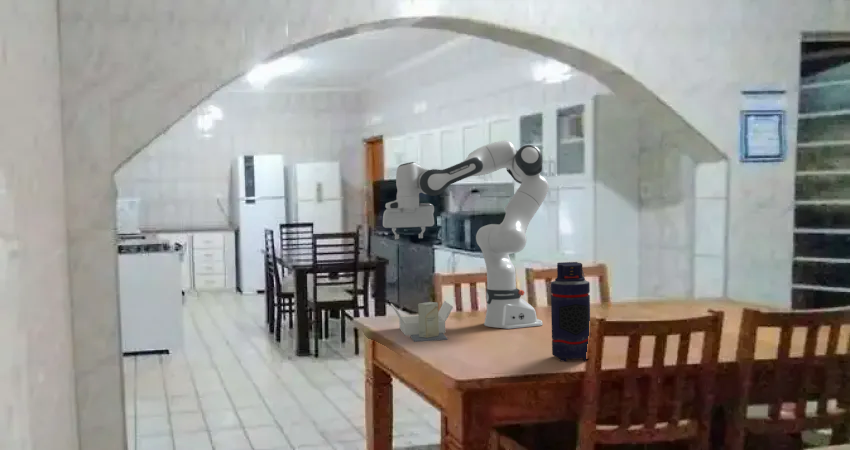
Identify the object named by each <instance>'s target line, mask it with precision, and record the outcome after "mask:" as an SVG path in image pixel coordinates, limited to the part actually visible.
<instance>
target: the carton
mask: <svg viewBox="0 0 850 450" xmlns="http://www.w3.org/2000/svg"><path fill="white" fill-rule="evenodd" d="M390 305H391V307H392V309H393V310H394V312H395V313H396V315H397V317H398V319H399V321H398V322H399V329H400V331H401V332H402V334H403V335H404V336H410V335H415V334H419V315H406V316H405V315H403V316H402V315H401V314H400V312H399V310H398V309H397V308H396V307H395V305H394V304H393V303H390ZM439 308H440V309H438V322H439V333H443V334H445V333H446V322H447V319H448V318H449V315H450V314H451V312H452V310H453V309H454V307H453V306H452V305H451V304H450V303H449V302H447V301H446V300H443V303H442V305H441V306H440V307H439Z"/></svg>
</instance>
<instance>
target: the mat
mask: <svg viewBox="0 0 850 450" xmlns="http://www.w3.org/2000/svg"><path fill="white" fill-rule="evenodd" d="M409 337H410V338H411V340H412V341H413V342H414V343H415V342H429V341H430V342H431V341H432V342H433V341H445V340H446V341H447V340H448V337H447V335H445V333H439V336H435V337H429V338H424V337H419V334H415V335H409Z"/></svg>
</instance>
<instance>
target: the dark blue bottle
mask: <svg viewBox="0 0 850 450" xmlns="http://www.w3.org/2000/svg"><path fill="white" fill-rule="evenodd" d="M556 267H557V268H556V270H557V272H556V273H557V274H556V275H557V276H556V277H555V279H554V280H553V281H551V282H550V293H551V294H550V304H551V305H550V306H551V307H550V310H551V311H550V312H551V315H550V316H551V339H552V340H551V352H552V353H551V354H552V356H554V357H555V358H558V359H559V361H560V362H563V363H565V362H567V361H568V360H572V359H573V360H574V359H575V360H578V359H583V361H585V360H586V352H587V344H588V336H589V321H590V322H591V296H590V294H589V293H590V289H591V288H590V284H591V283H590V281H588V280H587V279H585V272H584V271H583V270H584V269H583V263H581V262H579V261H569V262H568V261H566V262H557V265H556ZM586 361H587V360H586Z"/></svg>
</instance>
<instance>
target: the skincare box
mask: <svg viewBox="0 0 850 450" xmlns="http://www.w3.org/2000/svg"><path fill="white" fill-rule="evenodd" d="M417 306H418V307H417V308H418V309H417V310H418V311H417V312H418V316H419V337H424V338H429V337H435V336H439V322H438V312H439V302H435V301H434V302H433V301H426V302H422V303H421V302H420V303H417Z"/></svg>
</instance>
